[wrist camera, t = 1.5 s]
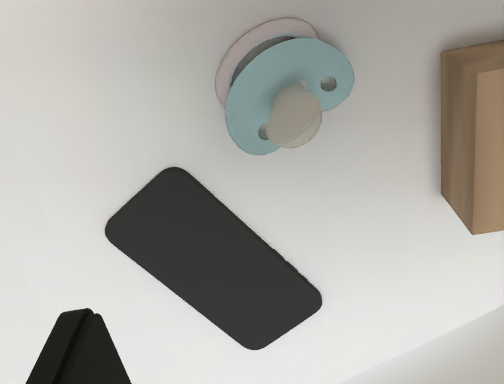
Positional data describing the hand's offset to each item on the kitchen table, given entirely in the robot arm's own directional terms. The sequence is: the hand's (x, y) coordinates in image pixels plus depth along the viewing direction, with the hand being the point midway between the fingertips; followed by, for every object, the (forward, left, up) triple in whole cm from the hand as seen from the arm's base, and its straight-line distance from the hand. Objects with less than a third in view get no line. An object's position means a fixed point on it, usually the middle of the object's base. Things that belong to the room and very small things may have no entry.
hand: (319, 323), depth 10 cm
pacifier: (0, -1, -19) cm, 19 cm away
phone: (+6, +12, -19) cm, 23 cm away
